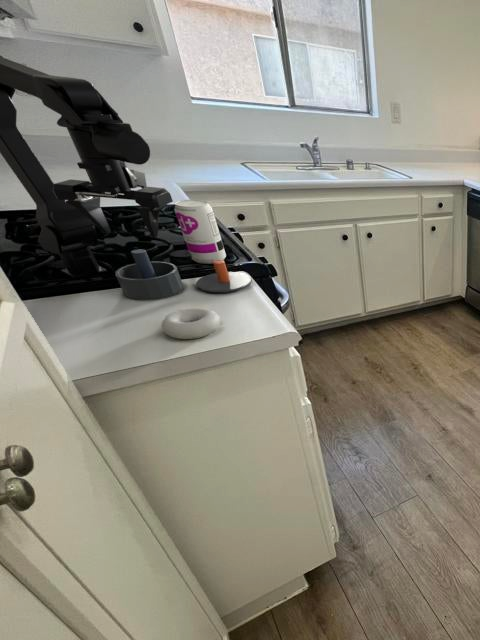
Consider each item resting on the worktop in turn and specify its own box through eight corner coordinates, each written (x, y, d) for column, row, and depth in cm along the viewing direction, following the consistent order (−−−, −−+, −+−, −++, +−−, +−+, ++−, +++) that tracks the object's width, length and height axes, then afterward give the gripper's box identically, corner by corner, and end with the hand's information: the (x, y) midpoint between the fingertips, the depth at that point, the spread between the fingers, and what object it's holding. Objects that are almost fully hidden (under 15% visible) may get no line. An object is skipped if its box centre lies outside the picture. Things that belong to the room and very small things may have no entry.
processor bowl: (114, 290, 96) (104, 269, 93) (166, 276, 105) (159, 257, 102) (141, 304, 93) (132, 284, 90) (193, 289, 101) (186, 270, 98)
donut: (153, 336, 84) (196, 346, 83) (145, 321, 82) (190, 331, 81) (193, 316, 92) (233, 324, 91) (187, 301, 90) (228, 309, 89)
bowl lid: (187, 284, 102) (178, 261, 99) (233, 272, 111) (226, 249, 108) (217, 299, 99) (209, 274, 95) (262, 284, 107) (256, 262, 104)
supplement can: (208, 266, 112) (189, 209, 103) (184, 260, 114) (164, 202, 105) (233, 258, 118) (218, 203, 109) (211, 251, 120) (193, 197, 111)
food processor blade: (154, 294, 96) (138, 257, 91) (136, 293, 95) (119, 255, 90) (170, 283, 101) (156, 246, 96) (153, 282, 101) (137, 245, 95)
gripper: (172, 155, 90) (196, 228, 99) (74, 145, 87) (108, 221, 96) (141, 164, 81) (171, 243, 90) (31, 152, 78) (73, 235, 87)
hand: (132, 235), depth 91 cm, fingers open, 9 cm apart
